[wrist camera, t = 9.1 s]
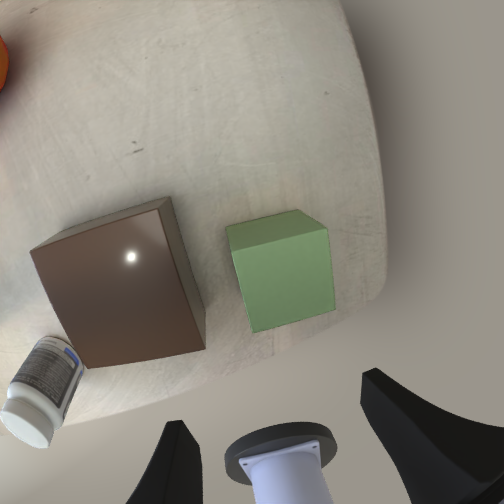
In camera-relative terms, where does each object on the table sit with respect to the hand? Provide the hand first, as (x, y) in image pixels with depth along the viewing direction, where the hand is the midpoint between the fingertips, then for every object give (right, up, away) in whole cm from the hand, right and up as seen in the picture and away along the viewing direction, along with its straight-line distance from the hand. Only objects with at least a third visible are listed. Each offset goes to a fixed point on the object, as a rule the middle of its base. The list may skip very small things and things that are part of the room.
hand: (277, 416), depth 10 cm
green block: (0, +6, +8) cm, 10 cm away
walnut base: (-9, +5, +7) cm, 12 cm away
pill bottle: (-17, -2, +9) cm, 19 cm away
